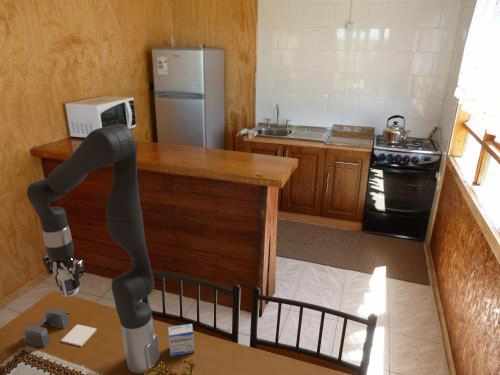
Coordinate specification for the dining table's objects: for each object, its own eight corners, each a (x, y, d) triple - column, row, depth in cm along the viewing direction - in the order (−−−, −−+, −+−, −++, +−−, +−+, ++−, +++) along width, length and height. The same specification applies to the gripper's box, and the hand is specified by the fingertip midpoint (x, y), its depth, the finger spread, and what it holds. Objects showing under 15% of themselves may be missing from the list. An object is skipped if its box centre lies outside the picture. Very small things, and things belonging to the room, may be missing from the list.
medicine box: (170, 357, 121) (168, 336, 118) (169, 347, 125) (167, 326, 122) (195, 352, 122) (193, 331, 119) (193, 342, 127) (192, 322, 123)
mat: (96, 329, 132) (96, 328, 132) (81, 346, 125) (81, 345, 125) (77, 325, 134) (77, 324, 134) (61, 341, 127) (61, 340, 127)
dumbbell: (73, 320, 137) (70, 306, 135) (44, 347, 125) (40, 333, 122) (52, 315, 139) (49, 302, 137) (22, 342, 127) (18, 328, 125)
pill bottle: (81, 287, 125) (76, 262, 122) (75, 297, 120) (69, 271, 117) (65, 287, 125) (59, 262, 122) (58, 297, 120) (51, 272, 117)
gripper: (86, 237, 117) (95, 282, 123) (48, 232, 121) (58, 276, 127) (69, 249, 110) (79, 296, 117) (29, 243, 114) (41, 289, 120)
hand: (68, 285), depth 122 cm, fingers closed on pill bottle, 5 cm apart
